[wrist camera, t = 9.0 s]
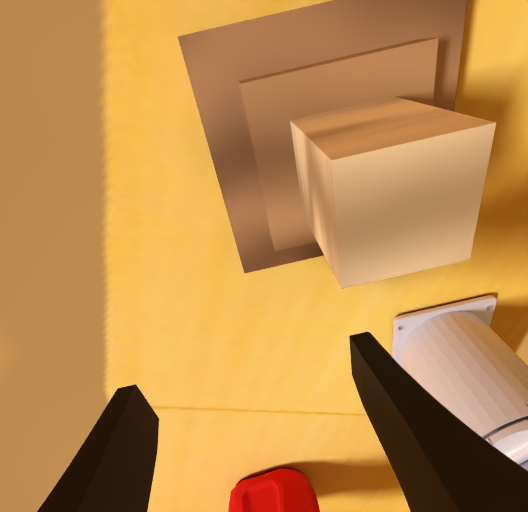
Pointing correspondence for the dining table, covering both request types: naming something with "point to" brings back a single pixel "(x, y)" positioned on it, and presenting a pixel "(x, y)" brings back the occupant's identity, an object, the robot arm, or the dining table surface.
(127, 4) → the dining table surface
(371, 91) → the walnut pedestal
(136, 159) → the dining table surface
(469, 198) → the oak block
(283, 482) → the water bottle
